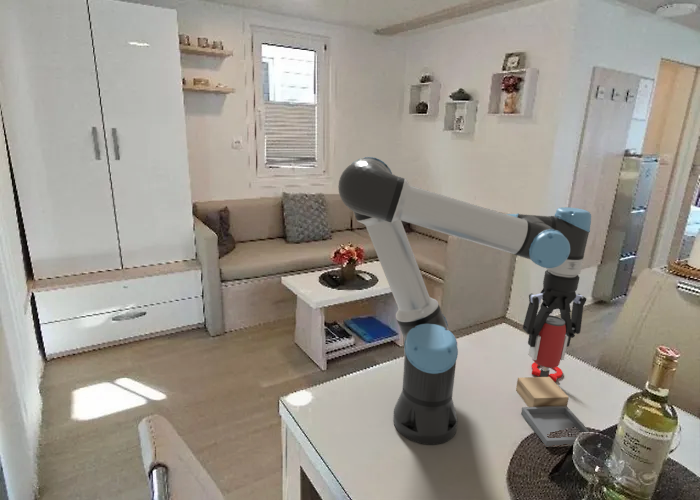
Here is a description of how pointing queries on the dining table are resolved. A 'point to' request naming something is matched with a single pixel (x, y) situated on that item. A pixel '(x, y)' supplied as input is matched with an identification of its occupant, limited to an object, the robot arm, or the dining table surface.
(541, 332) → the beer can
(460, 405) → the dining table surface
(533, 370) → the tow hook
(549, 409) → the charcoal tray
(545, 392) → the block
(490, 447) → the dining table surface
